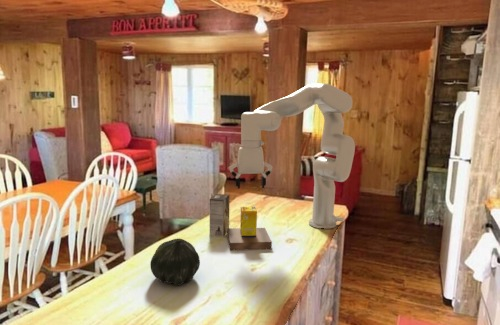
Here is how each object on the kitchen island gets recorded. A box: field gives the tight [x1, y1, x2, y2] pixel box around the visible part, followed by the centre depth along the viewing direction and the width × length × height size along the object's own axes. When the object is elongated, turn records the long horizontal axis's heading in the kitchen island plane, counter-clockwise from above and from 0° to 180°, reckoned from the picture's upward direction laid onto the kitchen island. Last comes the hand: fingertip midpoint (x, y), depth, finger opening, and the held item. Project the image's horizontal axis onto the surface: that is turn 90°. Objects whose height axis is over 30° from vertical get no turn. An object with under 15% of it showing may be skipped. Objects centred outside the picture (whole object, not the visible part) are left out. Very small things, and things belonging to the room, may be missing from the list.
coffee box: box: [209, 193, 230, 238], centre depth 165 cm, size 9×6×16 cm
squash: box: [150, 238, 201, 286], centre depth 123 cm, size 14×15×15 cm
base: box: [226, 227, 273, 251], centre depth 157 cm, size 16×16×3 cm
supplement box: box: [239, 206, 258, 238], centre depth 156 cm, size 6×6×11 cm
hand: (250, 187), depth 154 cm, fingers open, 9 cm apart
